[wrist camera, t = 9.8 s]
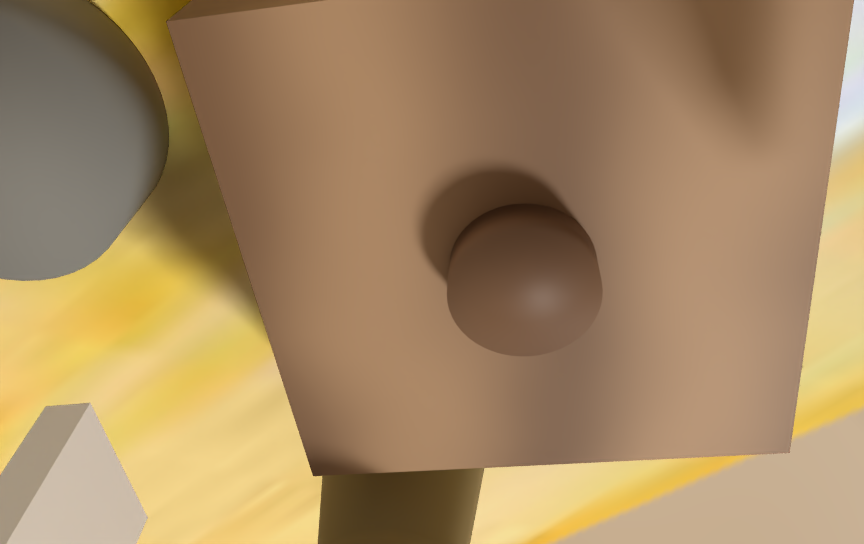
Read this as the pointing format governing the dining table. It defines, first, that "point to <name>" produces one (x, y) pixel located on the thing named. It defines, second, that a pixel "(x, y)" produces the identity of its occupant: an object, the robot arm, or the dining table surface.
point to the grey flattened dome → (71, 136)
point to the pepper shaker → (400, 507)
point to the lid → (525, 218)
